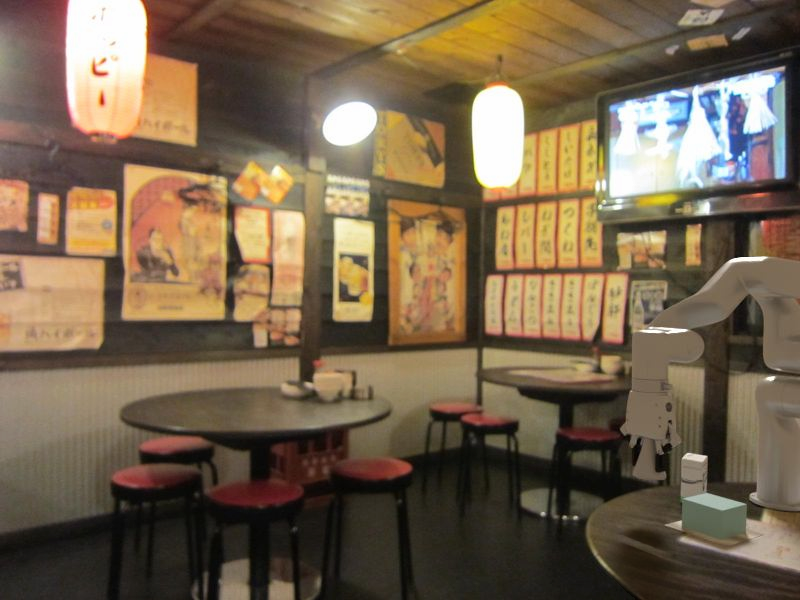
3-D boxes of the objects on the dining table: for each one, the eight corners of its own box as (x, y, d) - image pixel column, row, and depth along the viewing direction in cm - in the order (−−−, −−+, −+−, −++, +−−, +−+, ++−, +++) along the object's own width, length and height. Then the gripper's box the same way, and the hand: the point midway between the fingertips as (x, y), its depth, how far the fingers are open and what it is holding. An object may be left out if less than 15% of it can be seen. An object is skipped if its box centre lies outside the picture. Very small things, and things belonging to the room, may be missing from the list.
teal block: (706, 519, 146) (706, 492, 146) (746, 532, 139) (746, 504, 139) (681, 526, 141) (682, 498, 141) (721, 540, 134) (722, 510, 134)
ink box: (701, 511, 156) (703, 461, 156) (679, 507, 159) (680, 458, 159) (706, 502, 163) (708, 455, 163) (685, 498, 166) (686, 452, 166)
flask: (669, 482, 141) (670, 436, 141) (634, 480, 142) (634, 434, 142) (663, 473, 148) (663, 428, 148) (629, 471, 149) (629, 427, 149)
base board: (702, 520, 150) (702, 514, 150) (764, 540, 138) (764, 534, 138) (663, 530, 142) (664, 524, 142) (726, 552, 130) (726, 546, 130)
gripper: (695, 389, 140) (695, 475, 140) (628, 380, 154) (627, 457, 154) (674, 392, 136) (673, 480, 136) (607, 382, 150) (606, 462, 150)
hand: (649, 467), depth 145 cm, fingers closed on flask, 5 cm apart
